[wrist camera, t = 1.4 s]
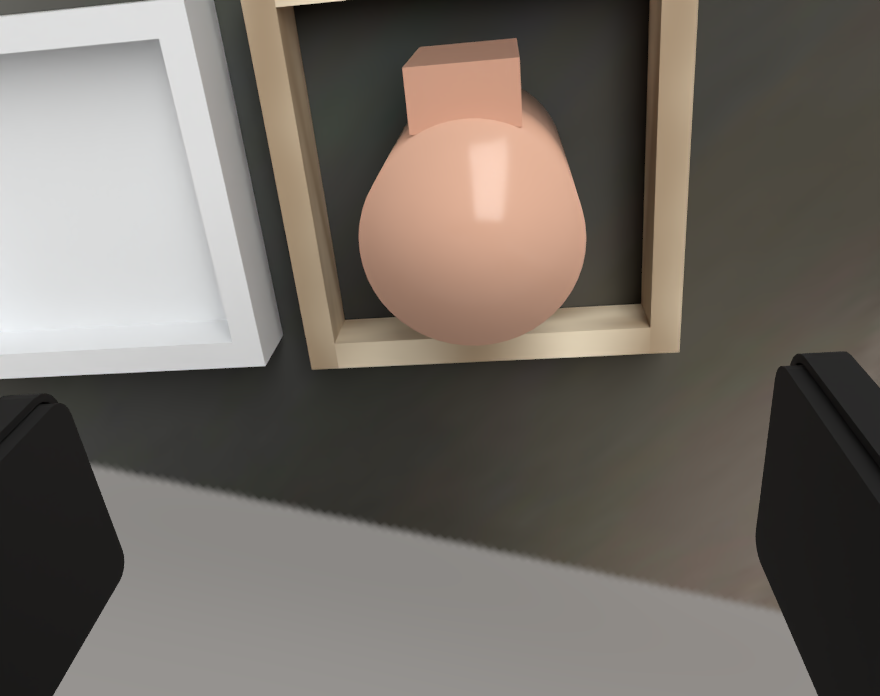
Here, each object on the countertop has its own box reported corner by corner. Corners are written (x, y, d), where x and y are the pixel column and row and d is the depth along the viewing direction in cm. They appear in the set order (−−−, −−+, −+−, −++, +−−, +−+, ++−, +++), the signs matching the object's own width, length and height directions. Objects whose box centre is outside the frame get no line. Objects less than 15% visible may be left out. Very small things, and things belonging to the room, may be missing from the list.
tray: (212, -7, 24) (182, -2, 22) (283, 335, 29) (265, 365, 27) (-136, 30, 25) (-197, 37, 23) (-6, 350, 31) (-46, 381, 29)
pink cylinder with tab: (564, 237, 27) (586, 340, 20) (407, 247, 28) (374, 350, 20) (560, 26, 24) (585, 59, 17) (382, 42, 24) (334, 80, 17)
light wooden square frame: (686, -75, 22) (702, -77, 20) (668, 327, 28) (679, 352, 26) (255, -29, 24) (235, -28, 22) (323, 344, 30) (311, 369, 28)
